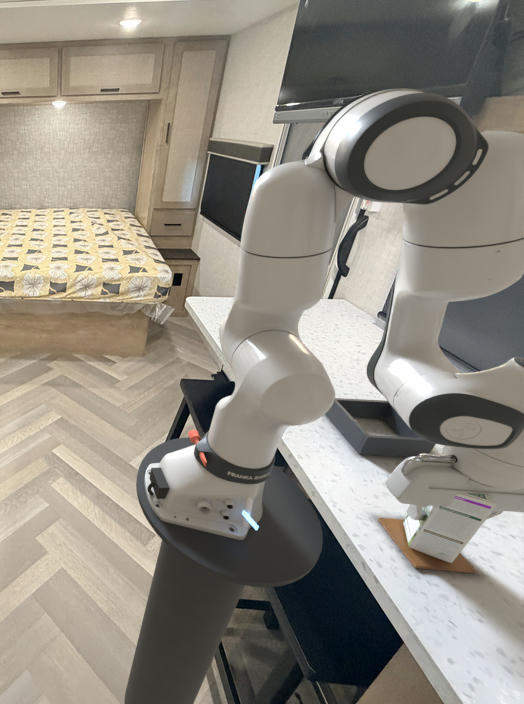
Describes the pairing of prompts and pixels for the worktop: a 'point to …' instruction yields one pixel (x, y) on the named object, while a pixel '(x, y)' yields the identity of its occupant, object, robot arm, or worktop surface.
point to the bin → (373, 444)
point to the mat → (419, 558)
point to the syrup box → (449, 525)
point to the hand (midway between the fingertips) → (442, 518)
